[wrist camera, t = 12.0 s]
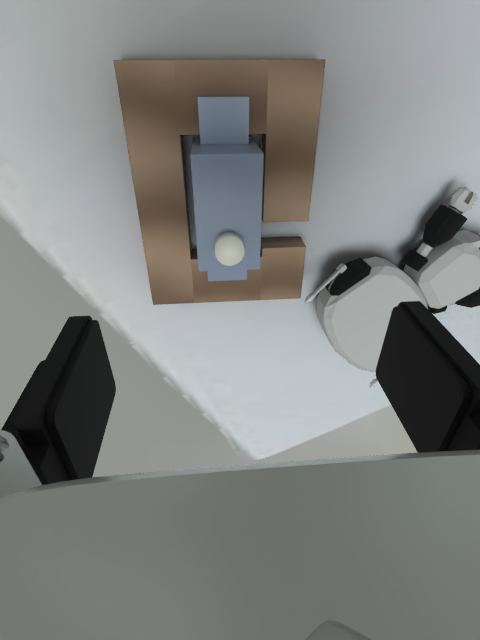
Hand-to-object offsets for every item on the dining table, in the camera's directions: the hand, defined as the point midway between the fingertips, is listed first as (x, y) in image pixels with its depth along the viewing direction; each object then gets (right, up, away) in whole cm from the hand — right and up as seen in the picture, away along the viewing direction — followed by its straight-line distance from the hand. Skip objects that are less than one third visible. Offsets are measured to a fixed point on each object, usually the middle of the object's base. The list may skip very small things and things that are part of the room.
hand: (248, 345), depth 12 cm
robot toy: (+13, +4, +21) cm, 25 cm away
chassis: (-1, +10, +15) cm, 18 cm away
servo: (-1, +10, +15) cm, 18 cm away
